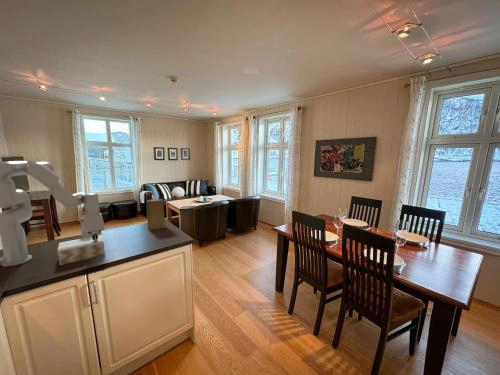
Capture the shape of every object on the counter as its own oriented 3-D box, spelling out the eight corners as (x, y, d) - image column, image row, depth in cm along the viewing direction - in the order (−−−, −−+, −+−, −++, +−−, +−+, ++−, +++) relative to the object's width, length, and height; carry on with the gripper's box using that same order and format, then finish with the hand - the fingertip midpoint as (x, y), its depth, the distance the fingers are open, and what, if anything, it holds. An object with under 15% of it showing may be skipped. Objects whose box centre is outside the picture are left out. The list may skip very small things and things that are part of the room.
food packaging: (163, 224, 198) (162, 198, 194) (165, 228, 190) (164, 200, 186) (147, 227, 191) (145, 199, 187) (148, 230, 183) (147, 201, 179)
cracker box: (91, 247, 149) (88, 218, 146) (82, 247, 148) (79, 218, 145) (102, 239, 163) (100, 212, 160) (94, 239, 162) (91, 213, 159)
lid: (57, 252, 124) (57, 250, 124) (59, 244, 135) (59, 242, 134) (103, 242, 137) (103, 241, 137) (101, 236, 148) (101, 234, 148)
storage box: (59, 265, 125) (57, 252, 124) (60, 256, 136) (59, 244, 135) (104, 254, 139) (103, 243, 137) (102, 247, 149) (101, 236, 148)
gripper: (77, 216, 127) (80, 245, 130) (107, 212, 137) (109, 239, 139) (77, 213, 133) (80, 241, 136) (106, 209, 142) (108, 235, 145)
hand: (95, 240), depth 138 cm, fingers closed
